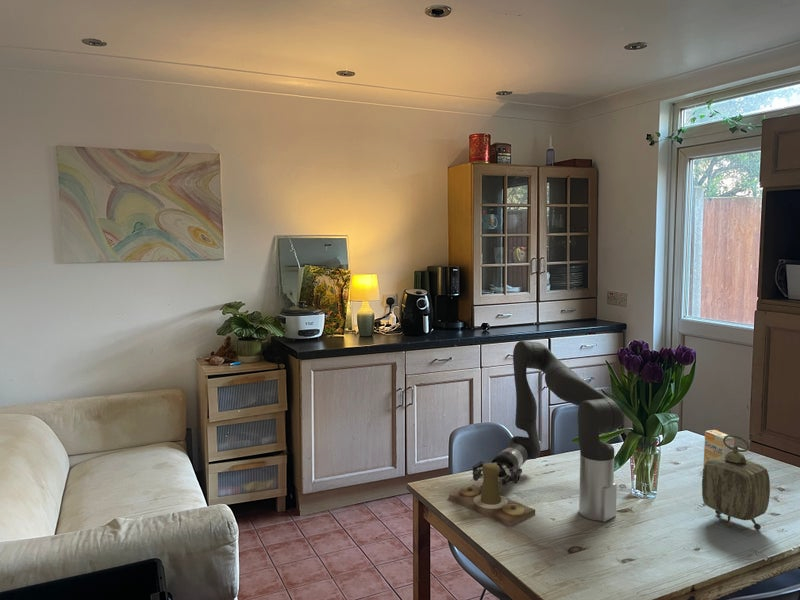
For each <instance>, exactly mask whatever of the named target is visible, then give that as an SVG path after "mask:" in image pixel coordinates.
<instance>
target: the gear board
mask: <svg viewBox="0 0 800 600" xmlns="http://www.w3.org/2000/svg"><path fill="white" fill-rule="evenodd" d="M481 493H482V487H481V486H478V485H475V484H471V485H465V486H462V487H460V488H459V489H458V490H456V491H453V492H450V493H448V500H451V501H453V502H455V503H457V504H459V503H460V504H459V505H461V506H464V507H467V508H469V509H470V510H473V511H475V512H478V513H479V514H481V515H484V516H486V517H488V518H490V519H493V520H495V521H497V522H499V523H502V524H504V525H505V526H509V527H512V526H514V525H516V524H519V523H521V522H523V521H525V520H527V519H529V518H532V517H533V516H536V509H534V508H533V507H530V506H527V505H525V504H523V503H520V502H517V501H516V500H513V499H510V498H507V497H505V496H504V495H501V494H500V496H501V502H500V503H499V504H495V505H489V504H485V503H483V502H481Z"/></svg>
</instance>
